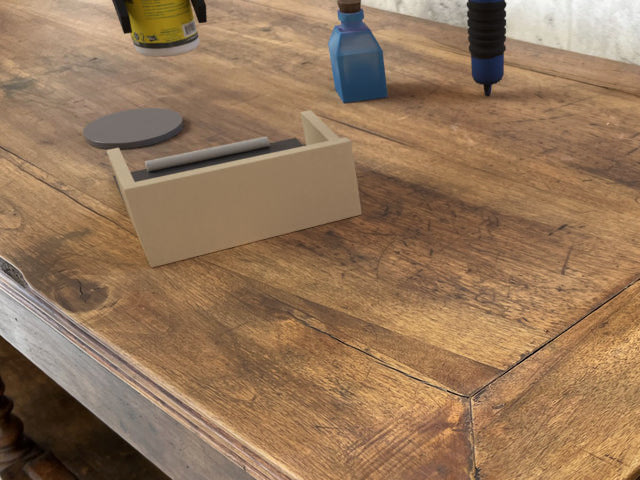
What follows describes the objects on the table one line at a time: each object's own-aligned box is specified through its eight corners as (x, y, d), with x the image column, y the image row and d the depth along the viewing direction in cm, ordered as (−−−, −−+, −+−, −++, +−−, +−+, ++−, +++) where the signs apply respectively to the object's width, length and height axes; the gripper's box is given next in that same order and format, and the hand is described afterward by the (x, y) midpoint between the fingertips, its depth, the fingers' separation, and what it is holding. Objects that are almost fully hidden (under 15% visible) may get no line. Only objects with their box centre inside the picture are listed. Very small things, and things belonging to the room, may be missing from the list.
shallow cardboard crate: (151, 268, 75) (124, 189, 70) (115, 182, 90) (90, 112, 85) (362, 214, 83) (351, 140, 78) (297, 143, 98) (284, 77, 93)
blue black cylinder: (505, 82, 115) (502, -77, 102) (525, 99, 109) (525, -66, 96) (452, 89, 113) (442, -72, 100) (470, 108, 107) (462, -60, 94)
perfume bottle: (335, 88, 113) (321, -3, 106) (377, 83, 115) (366, -7, 108) (343, 103, 109) (329, 9, 101) (387, 97, 111) (377, 4, 103)
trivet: (91, 156, 96) (89, 150, 95) (79, 124, 104) (77, 118, 103) (193, 136, 100) (191, 130, 100) (173, 107, 108) (172, 101, 108)
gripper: (189, -176, 83) (264, 27, 82) (-17, -166, 76) (62, 57, 75) (186, -241, 76) (267, -19, 75) (-42, -236, 69) (45, 9, 68)
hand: (165, 19), depth 75 cm, fingers closed on pill bottle, 6 cm apart
